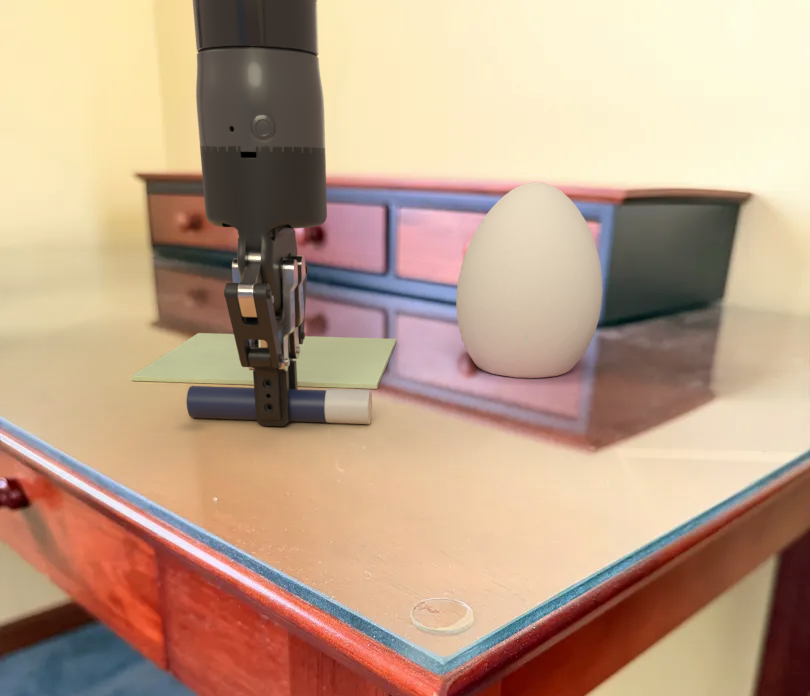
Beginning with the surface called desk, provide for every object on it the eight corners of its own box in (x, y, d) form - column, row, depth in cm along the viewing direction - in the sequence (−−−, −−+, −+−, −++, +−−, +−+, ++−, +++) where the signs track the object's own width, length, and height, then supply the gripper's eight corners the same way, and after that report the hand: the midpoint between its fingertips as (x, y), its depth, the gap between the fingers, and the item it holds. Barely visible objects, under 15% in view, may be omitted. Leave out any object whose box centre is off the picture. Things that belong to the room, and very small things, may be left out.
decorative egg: (583, 354, 78) (602, 181, 71) (603, 387, 66) (627, 186, 60) (454, 351, 78) (461, 179, 72) (453, 382, 67) (461, 183, 61)
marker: (189, 424, 57) (183, 394, 55) (198, 407, 58) (192, 378, 57) (369, 430, 56) (367, 401, 54) (372, 413, 58) (371, 384, 56)
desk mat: (131, 380, 66) (130, 376, 66) (198, 336, 82) (198, 332, 82) (377, 389, 65) (377, 384, 65) (396, 342, 81) (396, 338, 81)
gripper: (232, 143, 56) (249, 391, 63) (163, 137, 44) (194, 448, 51) (341, 144, 56) (345, 395, 63) (302, 139, 43) (314, 452, 50)
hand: (277, 417), depth 57 cm, fingers closed on marker, 2 cm apart
